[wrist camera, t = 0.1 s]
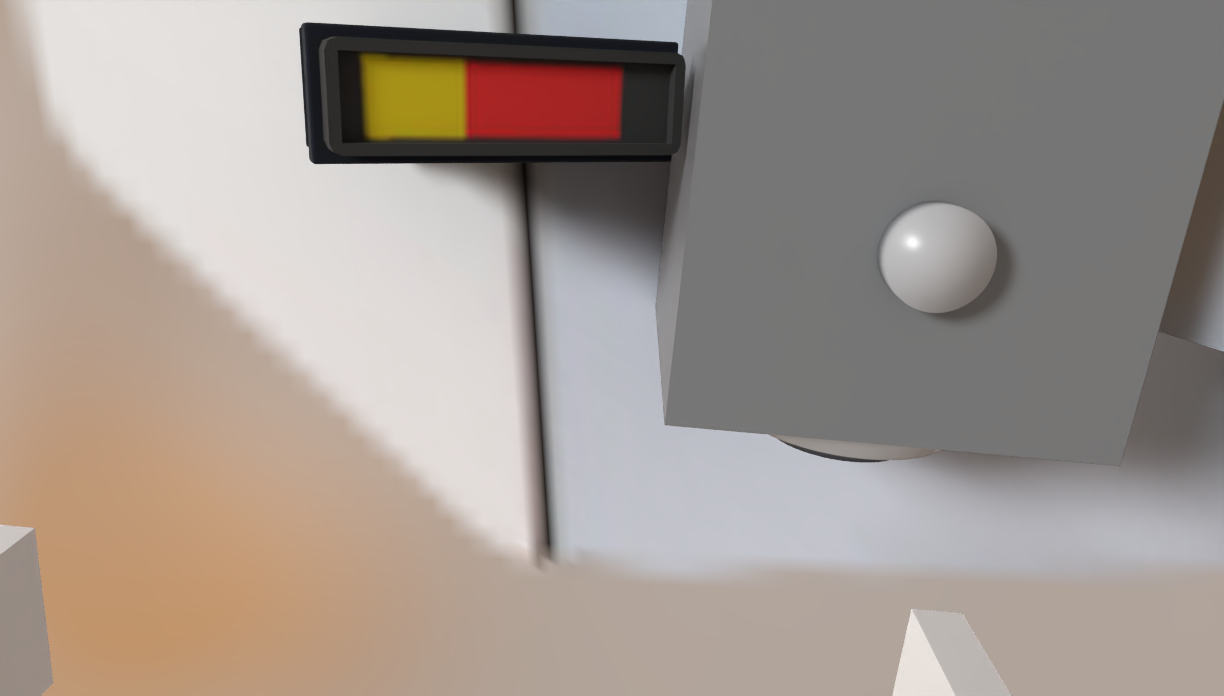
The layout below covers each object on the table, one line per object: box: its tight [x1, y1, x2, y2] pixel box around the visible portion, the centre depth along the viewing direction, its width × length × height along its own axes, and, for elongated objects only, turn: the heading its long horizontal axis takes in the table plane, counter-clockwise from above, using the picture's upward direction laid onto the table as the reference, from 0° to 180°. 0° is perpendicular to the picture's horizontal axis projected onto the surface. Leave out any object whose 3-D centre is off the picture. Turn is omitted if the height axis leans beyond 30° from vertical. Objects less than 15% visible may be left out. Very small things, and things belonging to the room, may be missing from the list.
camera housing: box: [656, 0, 1224, 466], centre depth 31 cm, size 24×14×15 cm, turn 175°
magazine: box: [299, 23, 686, 164], centre depth 33 cm, size 4×13×15 cm, turn 88°
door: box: [1158, 100, 1224, 352], centre depth 31 cm, size 2×16×11 cm, turn 175°
